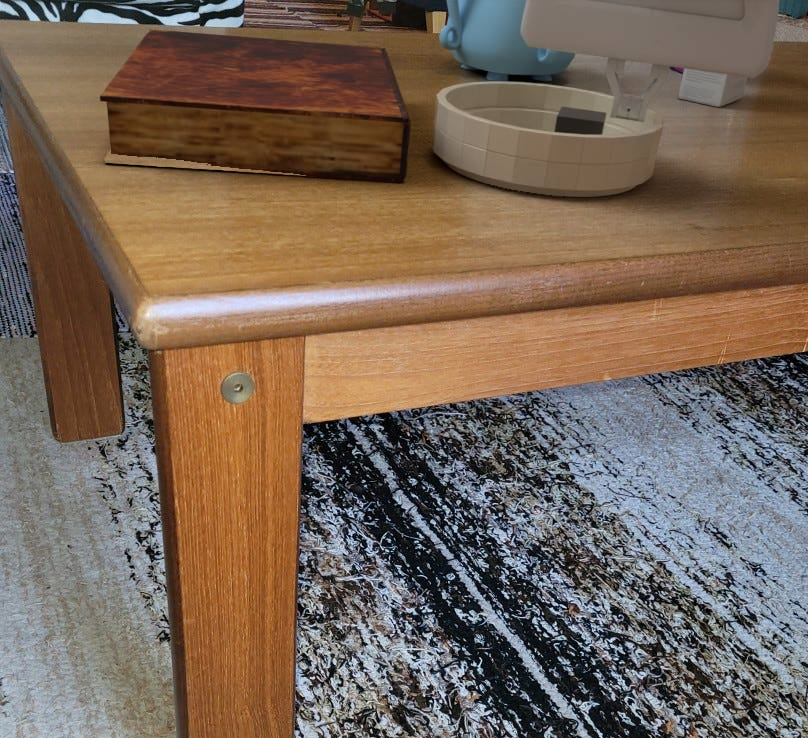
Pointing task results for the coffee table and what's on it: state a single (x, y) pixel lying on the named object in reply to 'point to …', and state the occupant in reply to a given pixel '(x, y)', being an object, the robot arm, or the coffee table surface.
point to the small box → (711, 87)
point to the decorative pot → (497, 41)
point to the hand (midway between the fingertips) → (627, 118)
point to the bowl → (541, 140)
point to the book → (261, 106)
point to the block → (580, 121)
